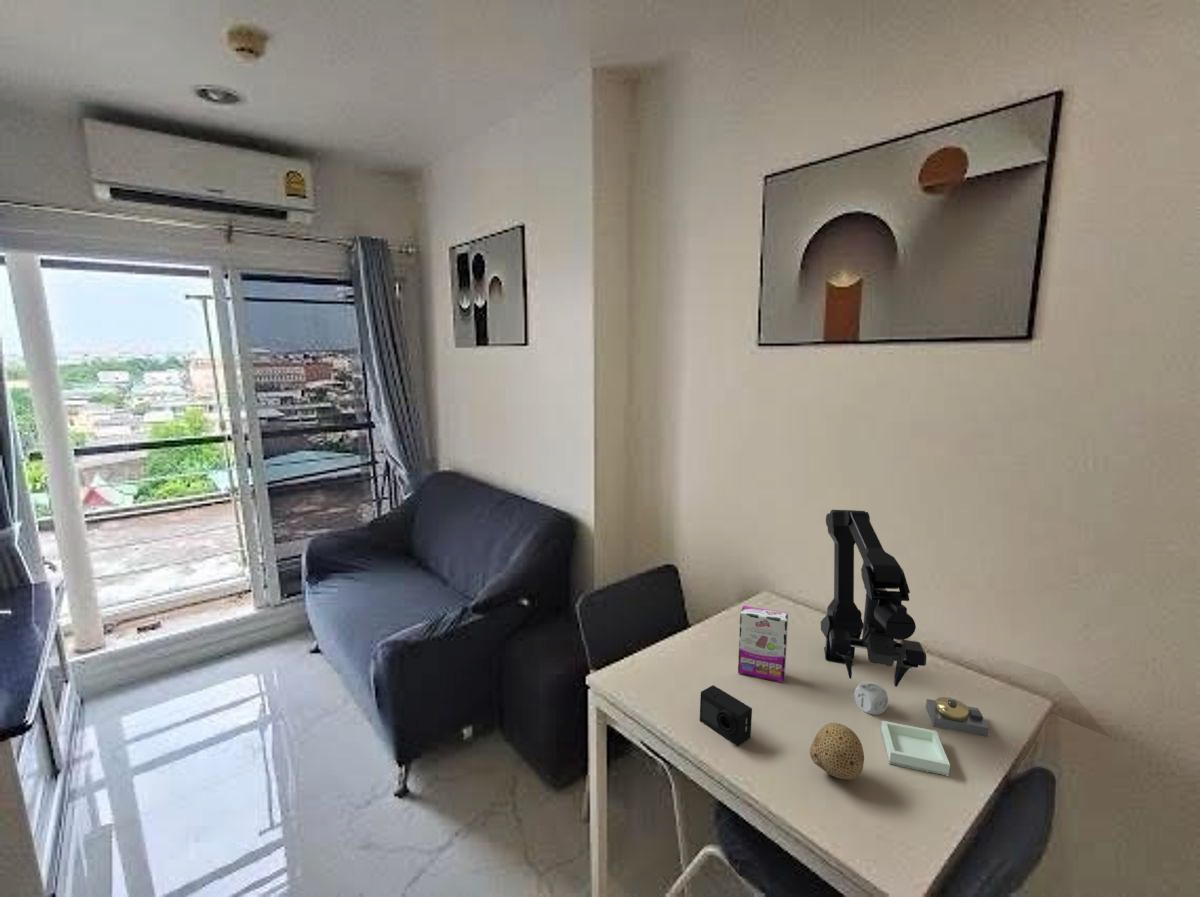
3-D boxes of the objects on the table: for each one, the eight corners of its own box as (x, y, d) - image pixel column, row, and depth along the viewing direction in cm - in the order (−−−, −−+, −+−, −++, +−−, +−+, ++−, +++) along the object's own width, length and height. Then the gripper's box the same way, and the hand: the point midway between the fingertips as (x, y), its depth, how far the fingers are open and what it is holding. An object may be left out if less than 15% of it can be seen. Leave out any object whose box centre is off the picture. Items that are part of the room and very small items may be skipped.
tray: (889, 763, 105) (890, 752, 105) (881, 731, 114) (882, 720, 114) (948, 776, 102) (950, 764, 101) (934, 742, 111) (936, 731, 111)
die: (853, 703, 124) (854, 683, 123) (870, 699, 125) (871, 679, 125) (870, 717, 119) (872, 696, 118) (887, 712, 121) (889, 692, 120)
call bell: (933, 726, 116) (935, 707, 115) (925, 706, 123) (927, 689, 122) (988, 736, 113) (990, 717, 112) (977, 716, 119) (979, 698, 119)
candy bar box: (785, 673, 136) (789, 612, 133) (783, 684, 131) (788, 620, 128) (739, 663, 140) (742, 604, 137) (736, 673, 135) (740, 612, 133)
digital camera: (695, 722, 117) (696, 693, 116) (711, 712, 120) (712, 684, 119) (733, 749, 109) (735, 718, 108) (750, 738, 112) (752, 707, 111)
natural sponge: (874, 791, 98) (879, 742, 97) (830, 799, 96) (835, 749, 95) (842, 756, 107) (846, 710, 105) (801, 763, 105) (805, 716, 104)
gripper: (835, 626, 114) (830, 693, 117) (936, 641, 108) (928, 712, 111) (831, 604, 125) (826, 666, 127) (923, 617, 119) (916, 682, 121)
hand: (872, 681), depth 121 cm, fingers open, 9 cm apart
